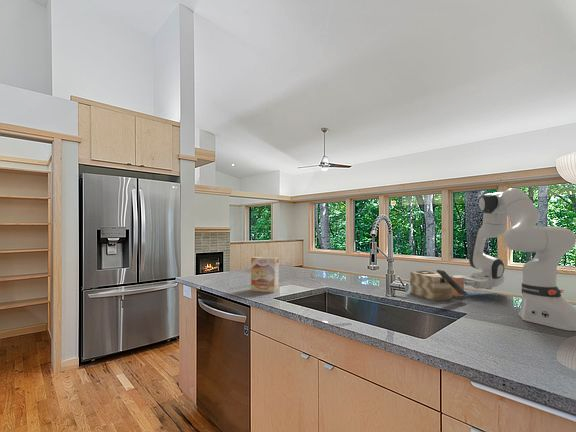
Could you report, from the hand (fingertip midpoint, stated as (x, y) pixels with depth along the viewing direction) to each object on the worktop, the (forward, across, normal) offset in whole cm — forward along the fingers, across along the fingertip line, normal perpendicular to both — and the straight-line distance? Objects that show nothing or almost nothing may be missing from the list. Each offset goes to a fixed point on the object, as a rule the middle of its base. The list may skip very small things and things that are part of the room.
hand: (459, 281), depth 172 cm
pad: (+2, 0, +8) cm, 8 cm away
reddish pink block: (+2, 0, +7) cm, 8 cm away
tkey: (+8, +8, +4) cm, 12 cm away
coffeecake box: (+100, -44, +8) cm, 109 cm away
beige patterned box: (+15, -5, +8) cm, 18 cm away
